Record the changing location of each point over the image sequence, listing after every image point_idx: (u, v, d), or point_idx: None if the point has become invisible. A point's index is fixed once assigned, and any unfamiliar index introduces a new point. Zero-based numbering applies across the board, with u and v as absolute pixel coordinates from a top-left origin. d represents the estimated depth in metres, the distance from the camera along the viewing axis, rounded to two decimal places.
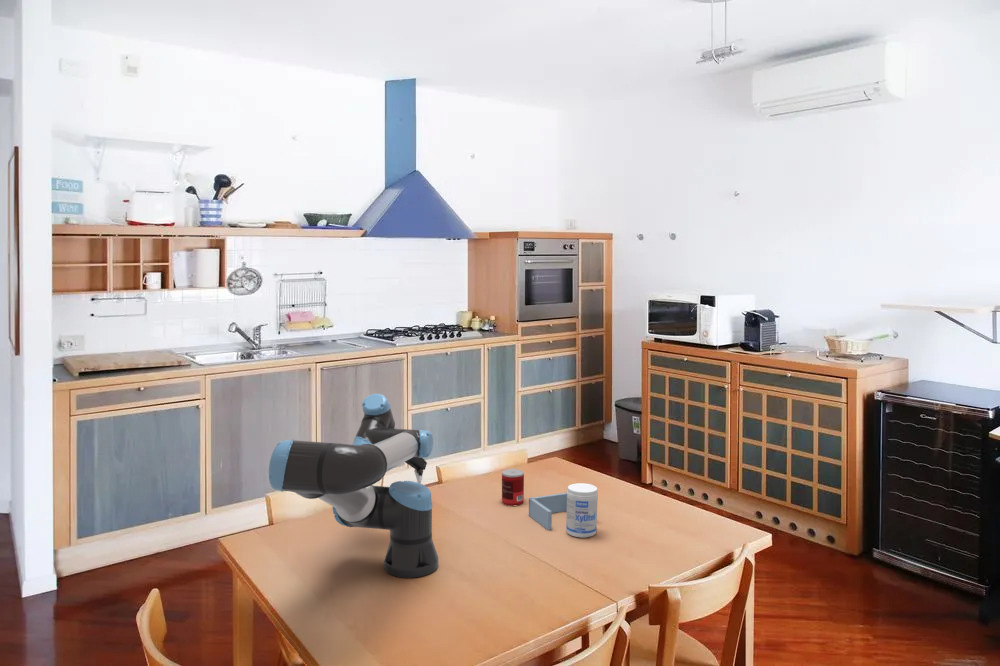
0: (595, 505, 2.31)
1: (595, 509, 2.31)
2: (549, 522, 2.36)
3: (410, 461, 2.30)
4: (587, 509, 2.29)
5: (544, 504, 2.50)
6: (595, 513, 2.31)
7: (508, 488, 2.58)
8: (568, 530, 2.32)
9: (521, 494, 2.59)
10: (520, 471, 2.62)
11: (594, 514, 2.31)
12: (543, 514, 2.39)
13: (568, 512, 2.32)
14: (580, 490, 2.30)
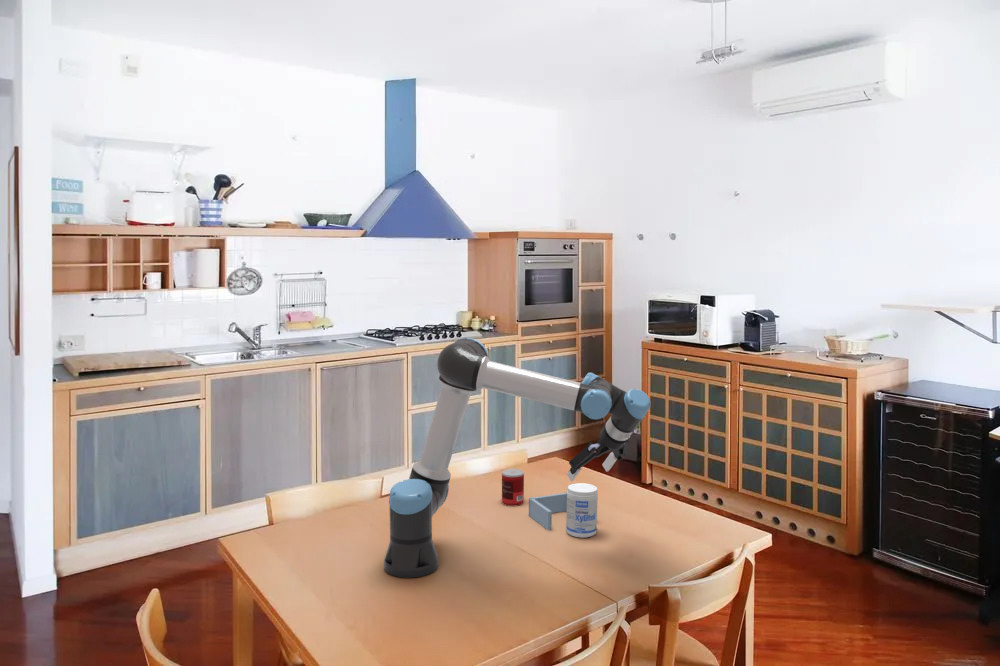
0: (595, 505, 2.31)
1: (595, 509, 2.31)
2: (549, 522, 2.36)
3: None
4: (587, 509, 2.29)
5: (544, 504, 2.50)
6: (595, 513, 2.31)
7: (508, 488, 2.58)
8: (568, 530, 2.32)
9: (521, 494, 2.59)
10: (520, 471, 2.62)
11: (594, 514, 2.31)
12: (543, 514, 2.39)
13: (568, 512, 2.32)
14: (580, 490, 2.30)
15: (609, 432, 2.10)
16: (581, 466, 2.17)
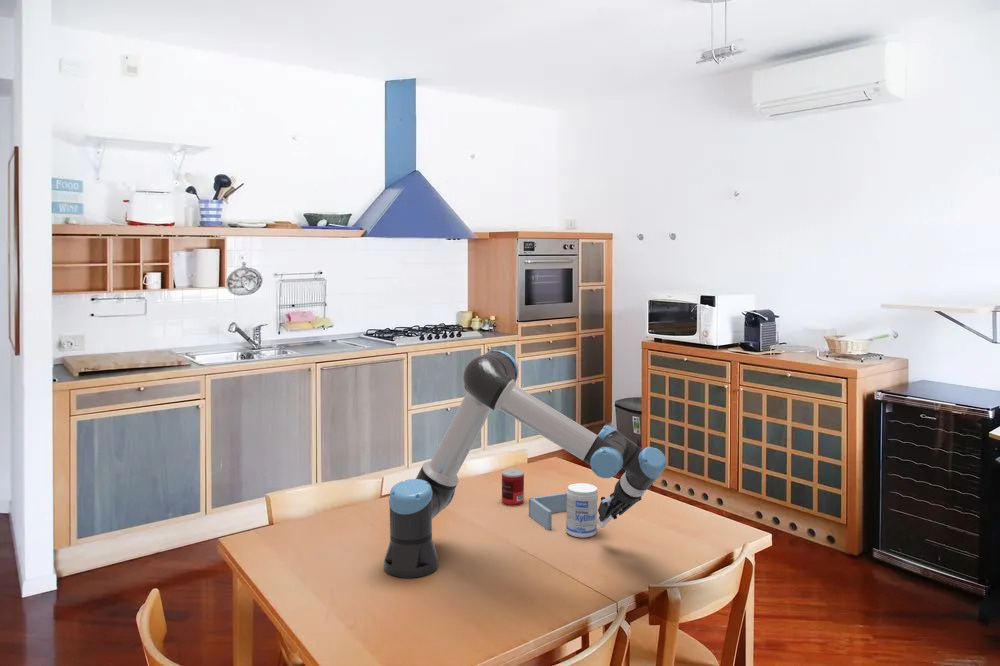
0: (595, 505, 2.31)
1: (595, 509, 2.31)
2: (549, 522, 2.36)
3: (607, 505, 2.16)
4: (587, 509, 2.29)
5: (544, 504, 2.50)
6: (595, 513, 2.31)
7: (508, 488, 2.58)
8: (568, 530, 2.32)
9: (521, 494, 2.59)
10: (520, 471, 2.62)
11: (594, 514, 2.31)
12: (543, 514, 2.39)
13: (568, 512, 2.32)
14: (580, 490, 2.30)
15: (623, 486, 2.05)
16: (608, 515, 2.17)
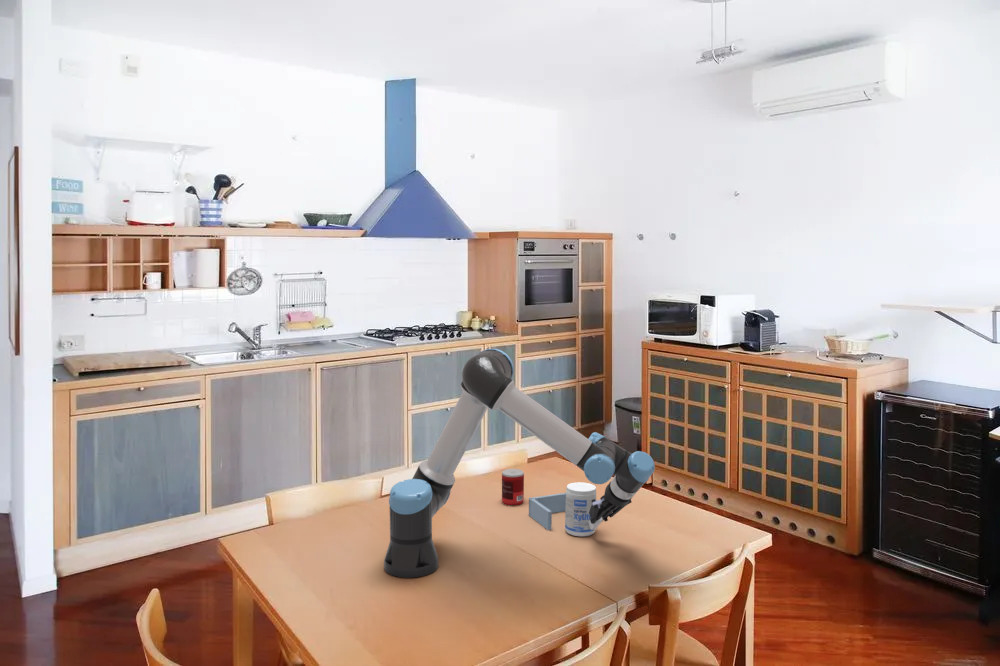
0: None
1: None
2: (549, 522, 2.36)
3: (598, 508, 2.22)
4: (586, 508, 2.30)
5: (544, 504, 2.50)
6: None
7: (508, 488, 2.58)
8: (567, 529, 2.33)
9: (521, 494, 2.59)
10: (520, 471, 2.62)
11: None
12: (543, 514, 2.39)
13: (567, 511, 2.33)
14: (578, 489, 2.31)
15: (612, 489, 2.10)
16: (599, 517, 2.23)
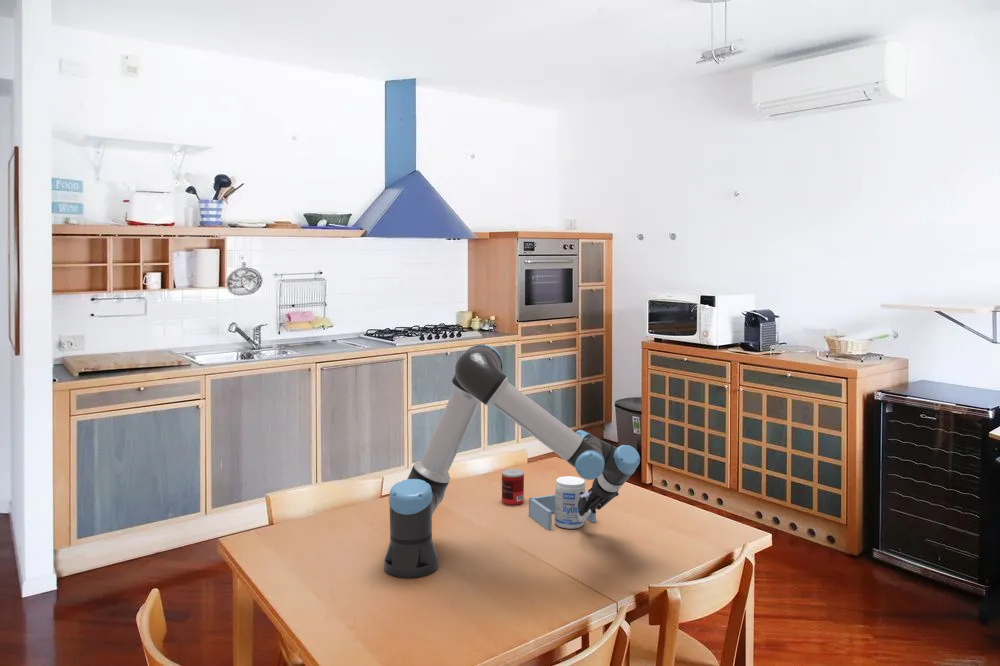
0: None
1: None
2: (549, 522, 2.36)
3: (586, 500, 2.28)
4: (574, 501, 2.36)
5: (544, 504, 2.50)
6: None
7: (508, 488, 2.58)
8: (556, 521, 2.39)
9: (521, 494, 2.59)
10: (520, 471, 2.62)
11: None
12: (543, 514, 2.39)
13: (556, 504, 2.39)
14: (567, 483, 2.37)
15: (599, 482, 2.17)
16: (587, 510, 2.29)
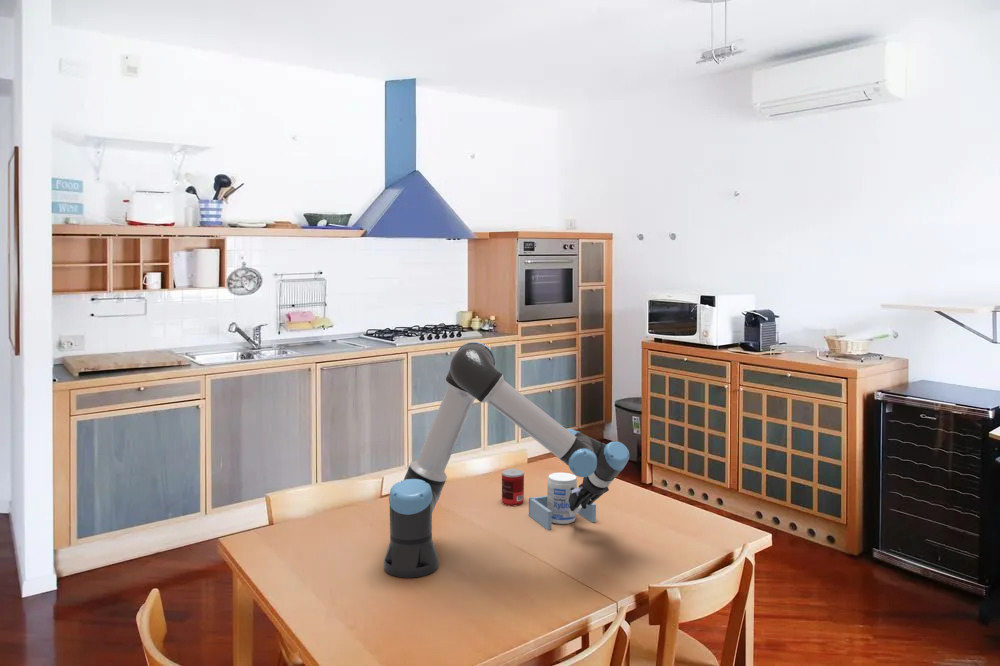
0: None
1: None
2: (549, 522, 2.36)
3: (577, 496, 2.32)
4: (565, 497, 2.40)
5: (544, 504, 2.50)
6: None
7: (508, 488, 2.58)
8: None
9: (521, 494, 2.59)
10: (520, 471, 2.62)
11: None
12: (543, 514, 2.39)
13: (548, 499, 2.44)
14: (558, 478, 2.41)
15: (590, 478, 2.21)
16: (578, 505, 2.33)
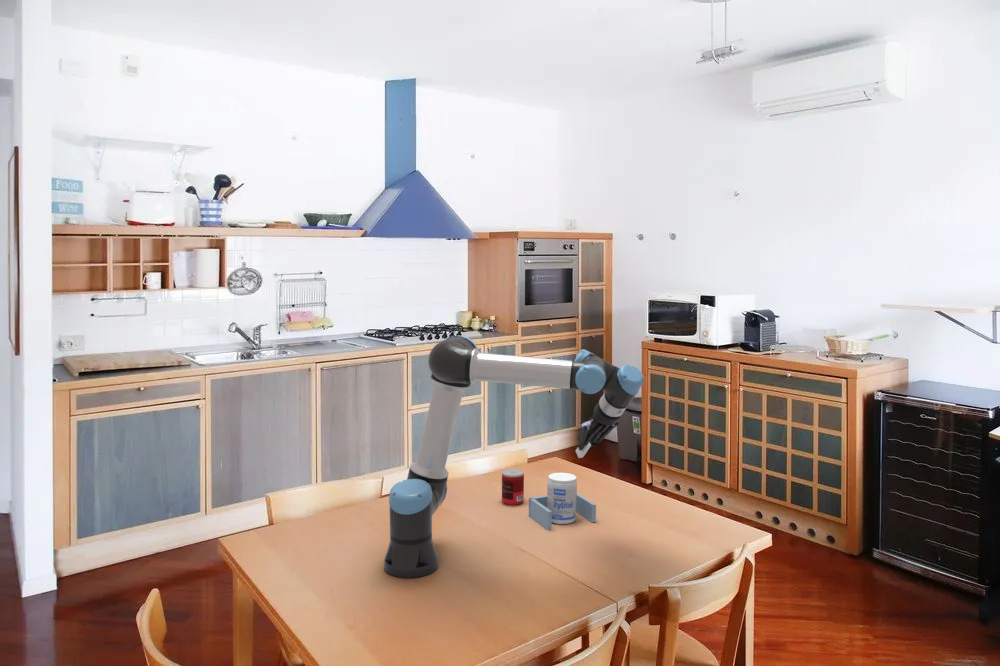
0: (573, 494, 2.41)
1: (573, 497, 2.42)
2: (549, 522, 2.36)
3: None
4: (565, 497, 2.40)
5: (544, 504, 2.50)
6: (573, 501, 2.42)
7: (508, 488, 2.58)
8: None
9: (521, 494, 2.59)
10: (520, 471, 2.62)
11: (572, 502, 2.41)
12: (543, 514, 2.39)
13: (548, 499, 2.44)
14: (558, 479, 2.41)
15: (602, 407, 2.11)
16: (587, 442, 2.23)
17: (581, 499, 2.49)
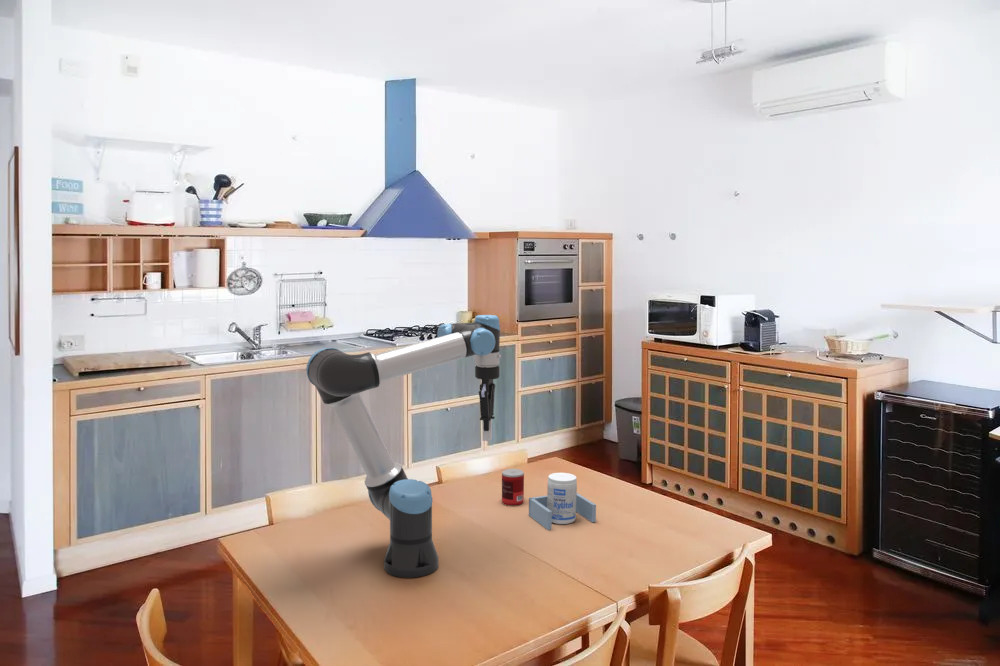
0: (573, 494, 2.41)
1: (573, 497, 2.42)
2: (549, 522, 2.36)
3: None
4: (565, 497, 2.40)
5: (544, 504, 2.50)
6: (573, 501, 2.42)
7: (508, 488, 2.58)
8: None
9: (521, 494, 2.59)
10: (520, 471, 2.62)
11: (572, 502, 2.41)
12: (543, 514, 2.39)
13: (548, 499, 2.44)
14: (558, 479, 2.41)
15: (486, 362, 2.26)
16: (490, 415, 2.30)
17: (581, 499, 2.49)
